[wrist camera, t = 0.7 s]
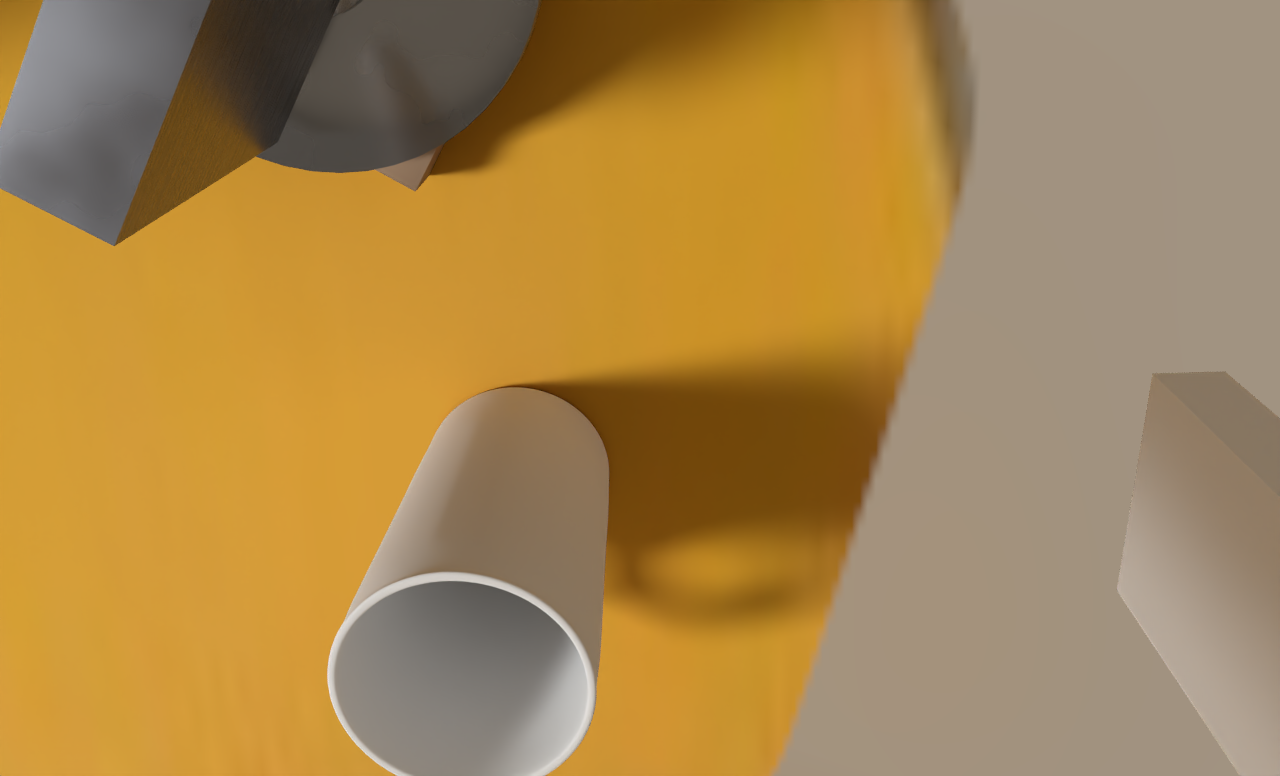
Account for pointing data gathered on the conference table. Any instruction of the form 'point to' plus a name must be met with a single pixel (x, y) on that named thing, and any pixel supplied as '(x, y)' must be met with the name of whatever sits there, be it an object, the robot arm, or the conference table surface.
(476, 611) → the mug
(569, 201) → the conference table surface
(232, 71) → the lever on round base
